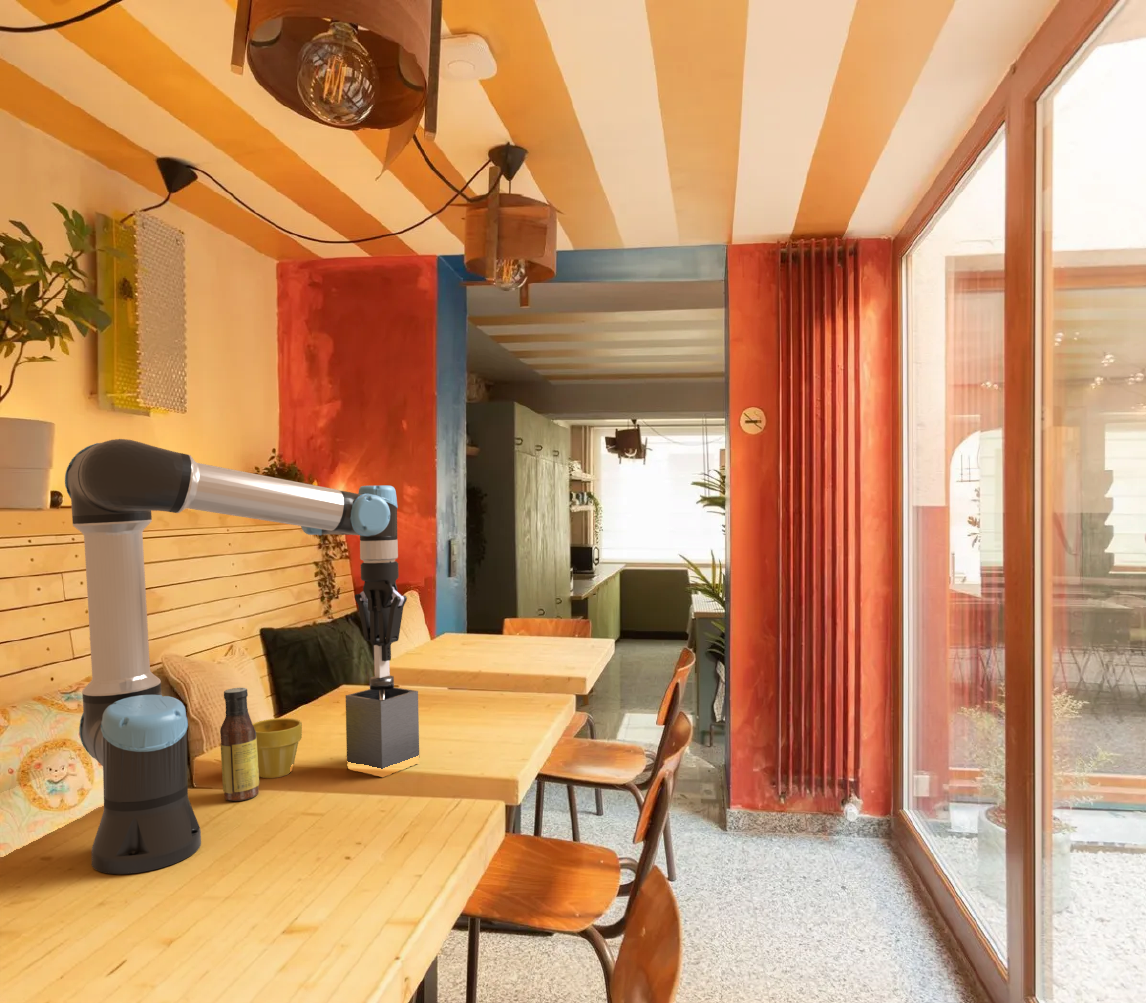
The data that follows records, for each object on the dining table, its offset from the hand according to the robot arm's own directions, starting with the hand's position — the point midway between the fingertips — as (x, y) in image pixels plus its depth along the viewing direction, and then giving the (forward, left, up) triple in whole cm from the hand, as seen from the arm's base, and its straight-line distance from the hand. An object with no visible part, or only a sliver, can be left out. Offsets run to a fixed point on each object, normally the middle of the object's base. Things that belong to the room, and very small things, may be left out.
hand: (382, 676), depth 170 cm
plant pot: (-14, +16, -19) cm, 28 cm away
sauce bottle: (-26, +10, -19) cm, 34 cm away
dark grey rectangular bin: (+2, 0, -18) cm, 18 cm away
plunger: (0, 0, -14) cm, 14 cm away
